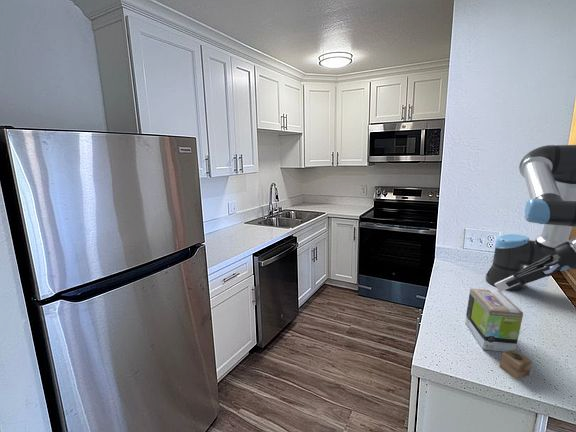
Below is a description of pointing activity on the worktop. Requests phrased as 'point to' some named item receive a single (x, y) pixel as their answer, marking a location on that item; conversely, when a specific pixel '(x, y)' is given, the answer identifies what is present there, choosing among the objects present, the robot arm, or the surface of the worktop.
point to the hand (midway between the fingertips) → (497, 287)
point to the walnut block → (515, 364)
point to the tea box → (493, 320)
